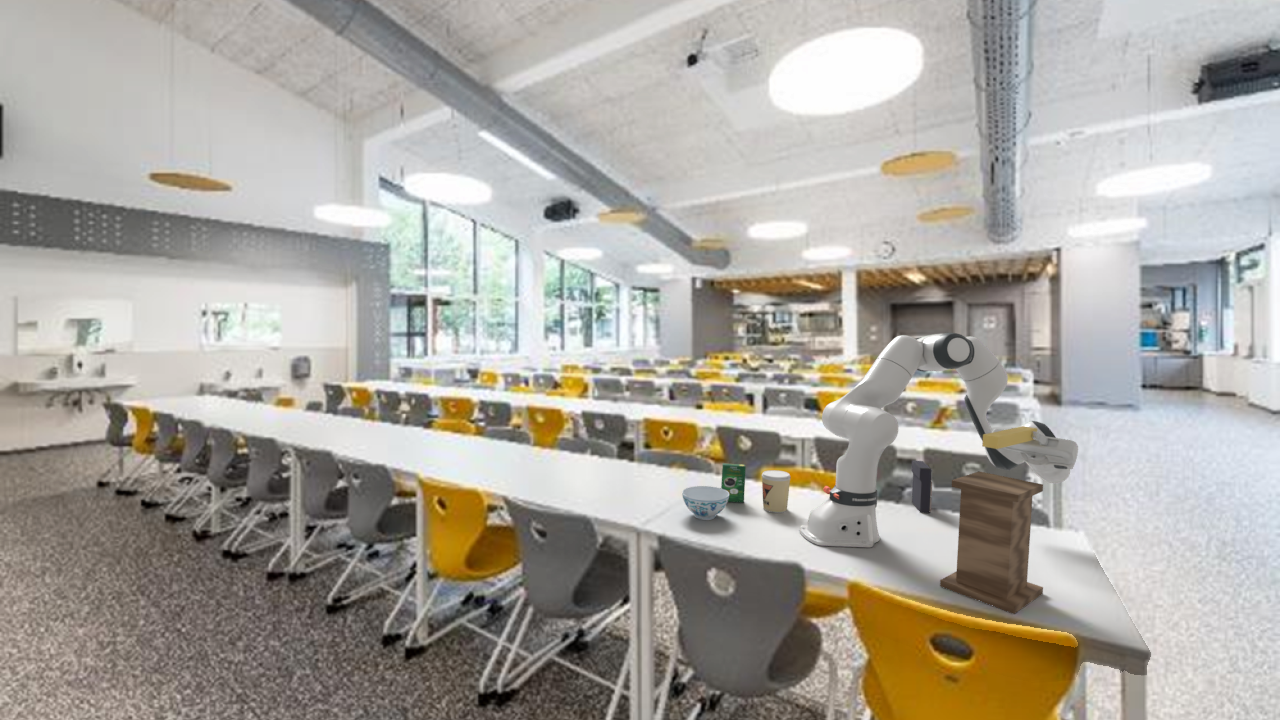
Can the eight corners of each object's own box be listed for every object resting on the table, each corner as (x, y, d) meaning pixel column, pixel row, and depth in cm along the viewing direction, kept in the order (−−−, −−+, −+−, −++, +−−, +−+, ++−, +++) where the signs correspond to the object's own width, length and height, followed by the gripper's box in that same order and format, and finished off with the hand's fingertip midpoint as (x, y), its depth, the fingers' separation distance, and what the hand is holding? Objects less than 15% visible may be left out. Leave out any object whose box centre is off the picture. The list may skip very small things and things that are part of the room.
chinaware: (702, 505, 198) (703, 483, 197) (738, 516, 187) (738, 493, 186) (671, 515, 187) (672, 492, 187) (707, 528, 177) (708, 503, 176)
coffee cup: (757, 504, 199) (758, 470, 198) (784, 504, 200) (785, 469, 199) (765, 513, 190) (766, 477, 189) (793, 513, 191) (794, 477, 190)
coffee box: (744, 500, 204) (745, 463, 203) (744, 503, 201) (745, 465, 200) (720, 499, 204) (721, 462, 203) (721, 502, 201) (722, 464, 200)
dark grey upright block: (932, 513, 192) (934, 468, 191) (918, 512, 193) (920, 468, 192) (922, 503, 203) (925, 460, 202) (909, 502, 204) (911, 460, 203)
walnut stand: (1014, 614, 127) (1021, 497, 125) (940, 586, 140) (945, 479, 138) (1042, 593, 137) (1049, 484, 135) (970, 569, 149) (976, 469, 147)
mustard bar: (997, 449, 144) (998, 437, 144) (982, 446, 147) (983, 434, 147) (1036, 439, 158) (1037, 428, 158) (1022, 437, 161) (1022, 426, 161)
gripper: (1002, 436, 174) (986, 416, 166) (1085, 449, 158) (1071, 427, 150) (996, 455, 173) (979, 436, 165) (1079, 470, 156) (1064, 450, 149)
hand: (1023, 432), depth 157 cm, fingers closed on mustard bar, 3 cm apart
